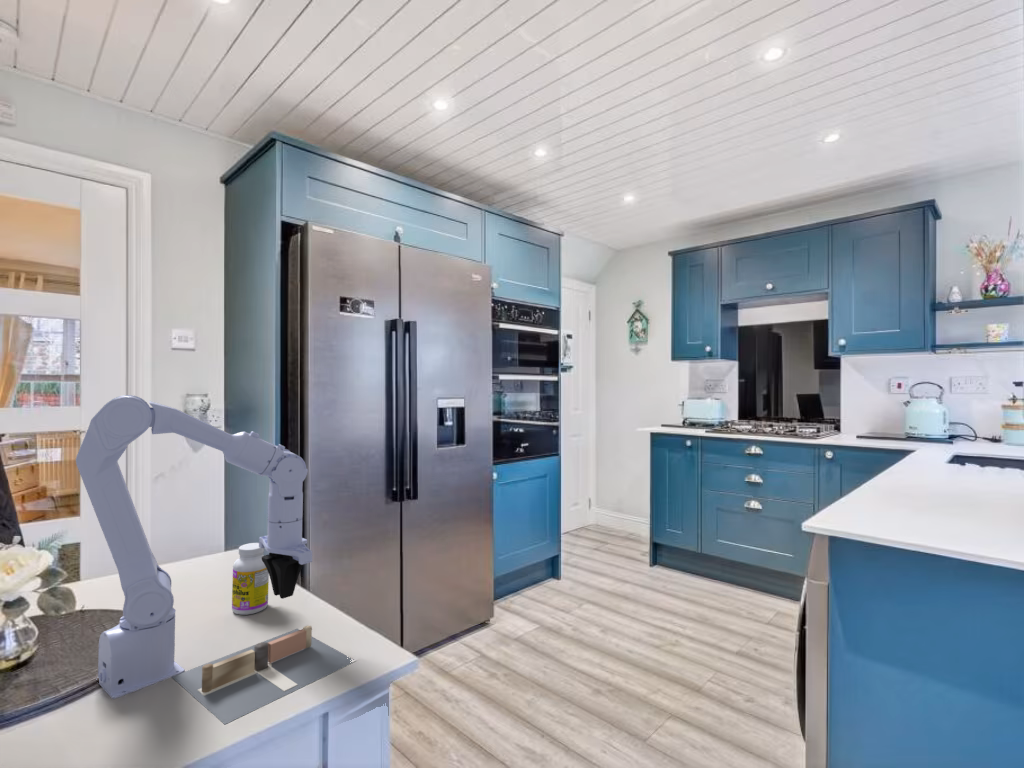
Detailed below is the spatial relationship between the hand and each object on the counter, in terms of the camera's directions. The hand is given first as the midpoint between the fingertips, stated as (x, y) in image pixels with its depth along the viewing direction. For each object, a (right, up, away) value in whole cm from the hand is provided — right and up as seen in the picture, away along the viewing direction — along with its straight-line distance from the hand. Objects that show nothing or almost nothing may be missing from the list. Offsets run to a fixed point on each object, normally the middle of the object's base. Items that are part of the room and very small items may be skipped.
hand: (283, 595), depth 94 cm
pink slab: (+3, -8, -5) cm, 10 cm away
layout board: (+1, -8, -9) cm, 13 cm away
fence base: (-2, -8, -12) cm, 15 cm away
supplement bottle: (-13, -8, +13) cm, 20 cm away
